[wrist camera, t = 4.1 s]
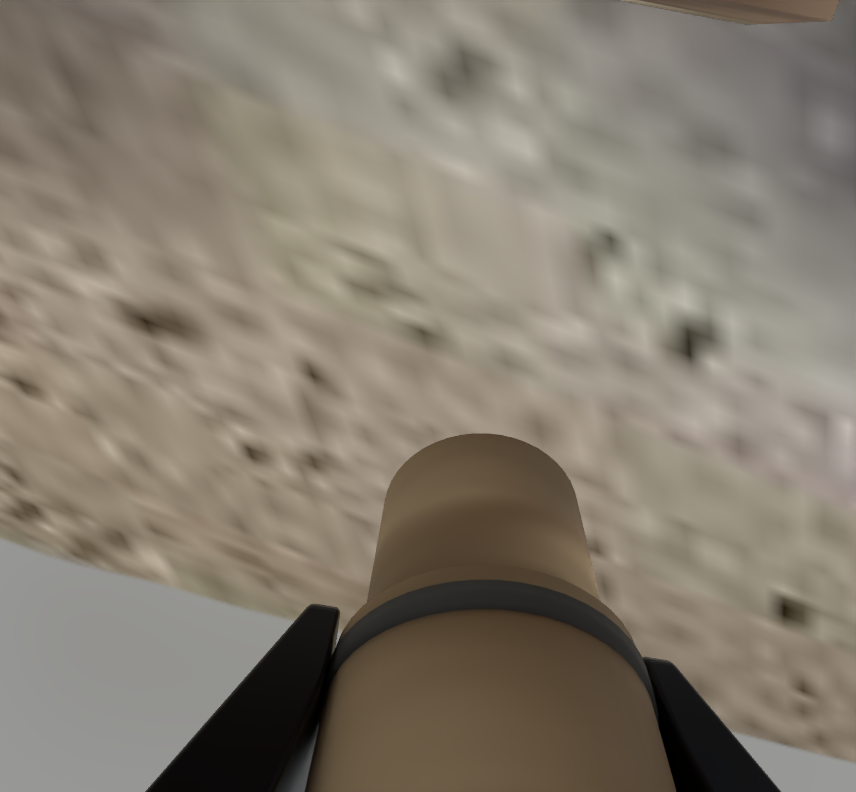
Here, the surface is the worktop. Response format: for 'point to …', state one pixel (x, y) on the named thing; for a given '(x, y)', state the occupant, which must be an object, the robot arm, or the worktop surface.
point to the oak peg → (486, 643)
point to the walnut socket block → (751, 9)
